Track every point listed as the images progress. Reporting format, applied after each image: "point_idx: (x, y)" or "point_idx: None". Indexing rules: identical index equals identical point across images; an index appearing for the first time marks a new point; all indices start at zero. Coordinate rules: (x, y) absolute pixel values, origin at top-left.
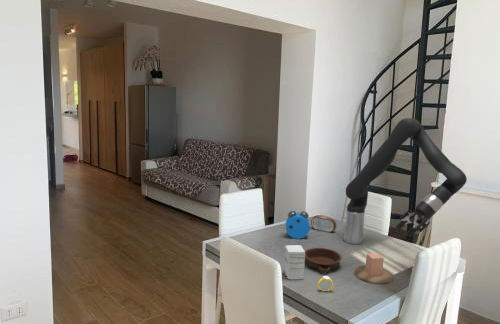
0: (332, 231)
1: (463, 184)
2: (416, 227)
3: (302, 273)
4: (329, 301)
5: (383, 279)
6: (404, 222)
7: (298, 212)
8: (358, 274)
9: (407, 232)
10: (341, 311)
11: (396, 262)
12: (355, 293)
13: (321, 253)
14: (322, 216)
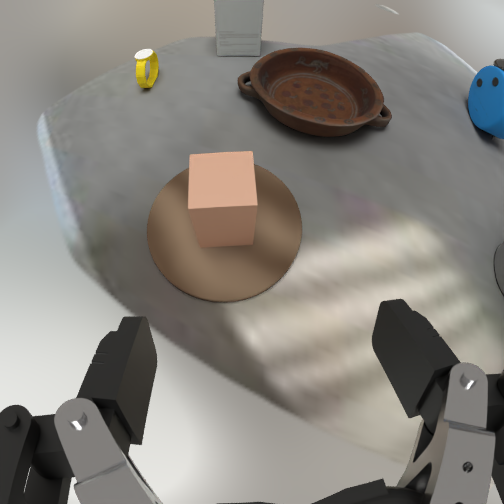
0: None
1: None
2: (29, 416)
3: (216, 41)
4: (107, 85)
5: (165, 238)
6: (431, 412)
7: None
8: None
9: (128, 324)
10: (67, 101)
11: (355, 386)
12: (117, 135)
13: (366, 104)
14: None
